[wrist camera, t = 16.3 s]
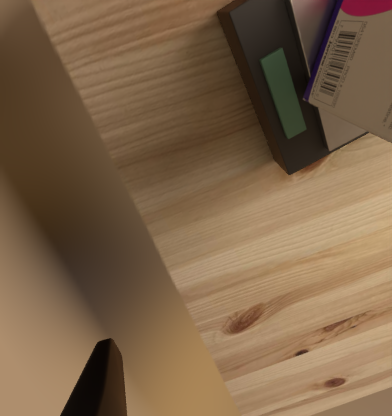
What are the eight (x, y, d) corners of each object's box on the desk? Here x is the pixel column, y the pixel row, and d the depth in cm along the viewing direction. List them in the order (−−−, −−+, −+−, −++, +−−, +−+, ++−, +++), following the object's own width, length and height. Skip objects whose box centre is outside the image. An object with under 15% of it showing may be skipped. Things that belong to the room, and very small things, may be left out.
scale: (274, 160, 22) (293, 180, 19) (215, 11, 16) (232, 12, 14) (437, 72, 20) (479, 80, 18) (433, -123, 15) (494, -149, 12)
